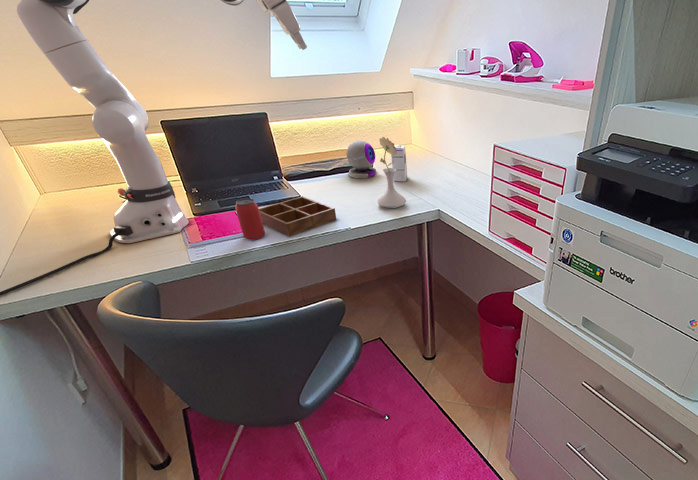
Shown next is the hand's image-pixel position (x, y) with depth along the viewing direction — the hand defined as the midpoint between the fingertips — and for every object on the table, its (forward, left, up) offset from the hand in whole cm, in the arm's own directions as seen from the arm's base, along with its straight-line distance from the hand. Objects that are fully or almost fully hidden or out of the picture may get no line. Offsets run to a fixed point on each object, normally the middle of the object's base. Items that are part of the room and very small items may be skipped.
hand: (303, 48), depth 133 cm
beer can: (-32, -3, -52) cm, 62 cm away
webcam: (+39, +25, -52) cm, 70 cm away
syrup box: (+45, +6, -52) cm, 69 cm away
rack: (-15, -2, -52) cm, 54 cm away
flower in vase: (+19, -15, -52) cm, 57 cm away
